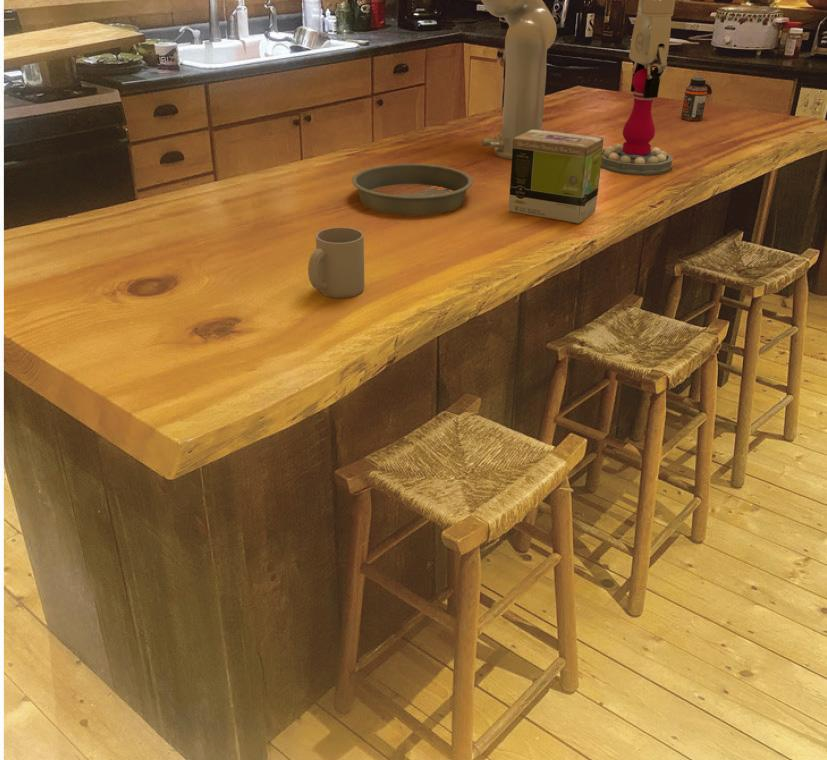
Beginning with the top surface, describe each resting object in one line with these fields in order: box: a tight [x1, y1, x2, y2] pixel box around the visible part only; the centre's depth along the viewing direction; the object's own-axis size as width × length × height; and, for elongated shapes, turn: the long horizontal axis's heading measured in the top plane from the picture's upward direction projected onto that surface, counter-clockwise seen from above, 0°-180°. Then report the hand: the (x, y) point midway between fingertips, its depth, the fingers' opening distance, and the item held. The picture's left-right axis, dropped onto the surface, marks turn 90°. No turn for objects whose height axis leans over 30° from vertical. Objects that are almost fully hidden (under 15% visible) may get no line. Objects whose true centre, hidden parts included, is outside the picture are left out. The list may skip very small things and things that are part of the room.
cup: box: [307, 226, 365, 299], centre depth 127 cm, size 7×10×9 cm
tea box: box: [508, 129, 605, 224], centre depth 162 cm, size 15×10×15 cm
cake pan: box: [351, 163, 473, 217], centre depth 171 cm, size 25×25×4 cm
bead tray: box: [600, 143, 674, 177], centre depth 195 cm, size 17×17×4 cm
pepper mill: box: [622, 62, 656, 155], centre depth 189 cm, size 7×7×20 cm
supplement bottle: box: [680, 76, 708, 122], centre depth 237 cm, size 6×6×11 cm
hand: (643, 93), depth 188 cm, fingers closed on pepper mill, 6 cm apart
